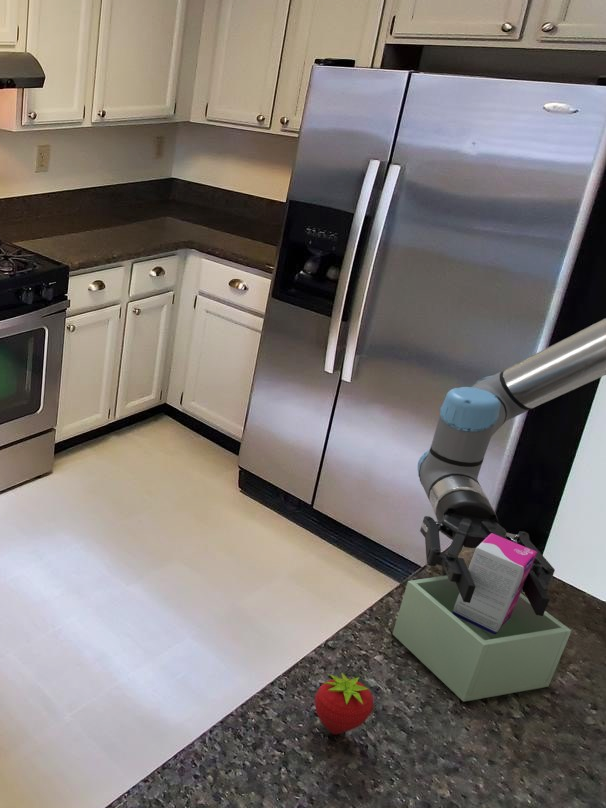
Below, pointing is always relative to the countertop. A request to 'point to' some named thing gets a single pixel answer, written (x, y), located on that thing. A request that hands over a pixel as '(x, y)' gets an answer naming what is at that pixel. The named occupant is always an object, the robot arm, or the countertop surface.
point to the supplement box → (495, 582)
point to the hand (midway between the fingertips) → (505, 600)
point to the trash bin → (478, 643)
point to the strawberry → (343, 704)
